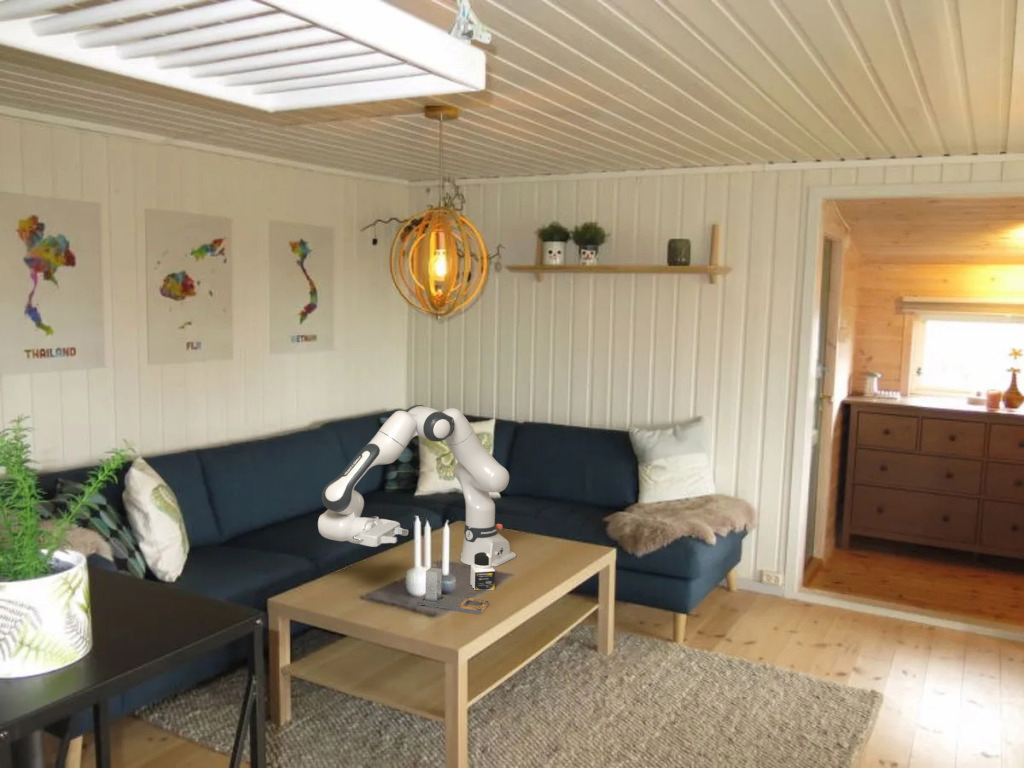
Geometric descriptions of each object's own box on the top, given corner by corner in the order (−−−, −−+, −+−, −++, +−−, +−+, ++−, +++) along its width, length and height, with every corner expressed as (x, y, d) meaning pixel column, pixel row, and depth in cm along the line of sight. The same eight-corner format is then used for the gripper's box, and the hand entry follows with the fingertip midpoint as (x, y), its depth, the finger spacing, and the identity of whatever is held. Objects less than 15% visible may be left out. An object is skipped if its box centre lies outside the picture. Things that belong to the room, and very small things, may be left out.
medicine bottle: (474, 591, 299) (475, 557, 298) (470, 584, 306) (470, 551, 305) (494, 590, 301) (495, 556, 300) (489, 583, 308) (490, 550, 307)
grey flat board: (427, 595, 294) (427, 592, 294) (489, 604, 287) (489, 600, 287) (416, 605, 285) (416, 601, 285) (480, 614, 279) (480, 610, 279)
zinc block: (429, 599, 291) (430, 567, 289) (441, 600, 290) (441, 568, 288) (425, 603, 287) (425, 571, 286) (436, 605, 286) (437, 572, 284)
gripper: (350, 529, 282) (389, 535, 279) (376, 515, 302) (413, 520, 298) (349, 548, 283) (388, 554, 279) (375, 532, 302) (413, 538, 299)
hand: (402, 536), depth 289 cm, fingers open, 8 cm apart
